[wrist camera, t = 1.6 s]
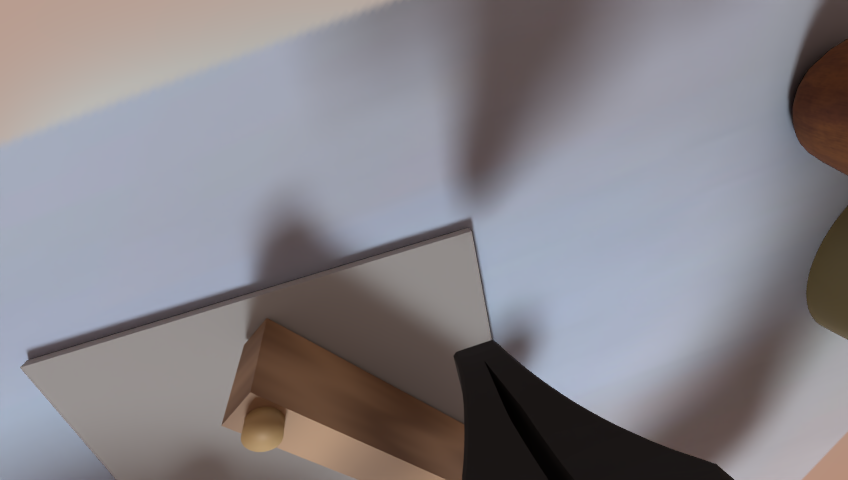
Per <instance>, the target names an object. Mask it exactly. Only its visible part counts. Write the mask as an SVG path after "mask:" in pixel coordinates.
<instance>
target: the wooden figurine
mask: <svg viewBox="0 0 848 480" xmlns="http://www.w3.org/2000/svg"><path fill="white" fill-rule="evenodd" d="M793 125H794V129H795V133H796V136H797V138H798V140H799V142H800V144H801V145H802V146H803V147H804V148H805V149H806V150H807V151H808V152H809V153H810V154H812V155H813V156H815V157H816V158H818V159H819V160H821V161H822V162H824V163H826V164H827V165H829V166H831V167H833V168H835V169H837V170H839V171H841V172H842V173H844V174H846V175H848V39H846V40H845V41H843V42H842V43H840V44H839V45H837V46H835V47H834V48H832V49H831V50H829V51H828V52H827V53H826V54H825V55H824V56H823V57H822V58H821V59H819V60H818V61H817V62H816V63H815V64H814V65H813V66H812V67H811V68H809V69H808V71H807V73H806V74H805V76H804V78H803V79H802V81H801V83H800V84H799V86H798V88H797V92H796V96H795V99H794V103H793Z"/></svg>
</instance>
